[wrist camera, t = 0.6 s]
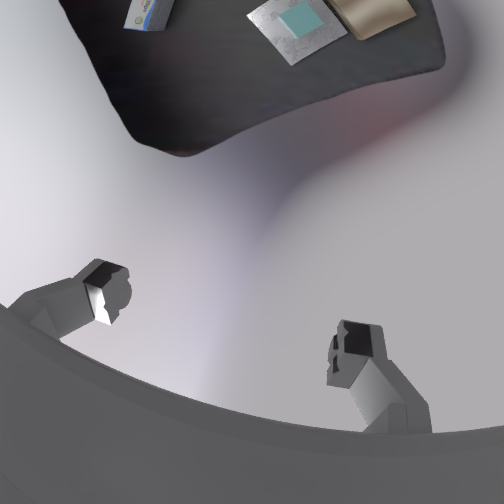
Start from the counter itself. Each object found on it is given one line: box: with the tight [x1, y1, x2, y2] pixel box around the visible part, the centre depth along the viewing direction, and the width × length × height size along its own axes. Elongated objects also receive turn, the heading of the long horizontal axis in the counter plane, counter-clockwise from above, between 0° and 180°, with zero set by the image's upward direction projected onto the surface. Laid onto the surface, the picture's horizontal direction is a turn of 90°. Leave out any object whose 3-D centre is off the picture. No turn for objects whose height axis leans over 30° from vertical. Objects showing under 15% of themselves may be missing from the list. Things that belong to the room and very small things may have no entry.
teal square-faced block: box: [278, 0, 324, 39], centre depth 32 cm, size 5×5×8 cm
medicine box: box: [124, 0, 175, 31], centre depth 32 cm, size 8×4×9 cm, turn 160°
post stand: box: [247, 0, 348, 66], centre depth 34 cm, size 12×12×6 cm
